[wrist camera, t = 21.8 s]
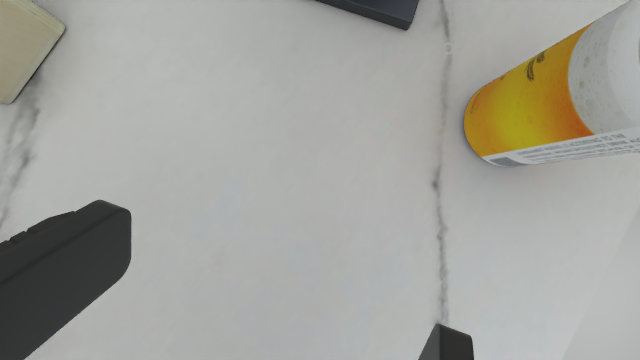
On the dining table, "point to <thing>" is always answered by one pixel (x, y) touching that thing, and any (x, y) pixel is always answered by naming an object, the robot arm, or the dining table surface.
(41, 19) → the cream block
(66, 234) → the robot arm
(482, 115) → the beer can
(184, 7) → the dining table surface
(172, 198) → the dining table surface
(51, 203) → the dining table surface
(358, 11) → the bracket
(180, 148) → the dining table surface
